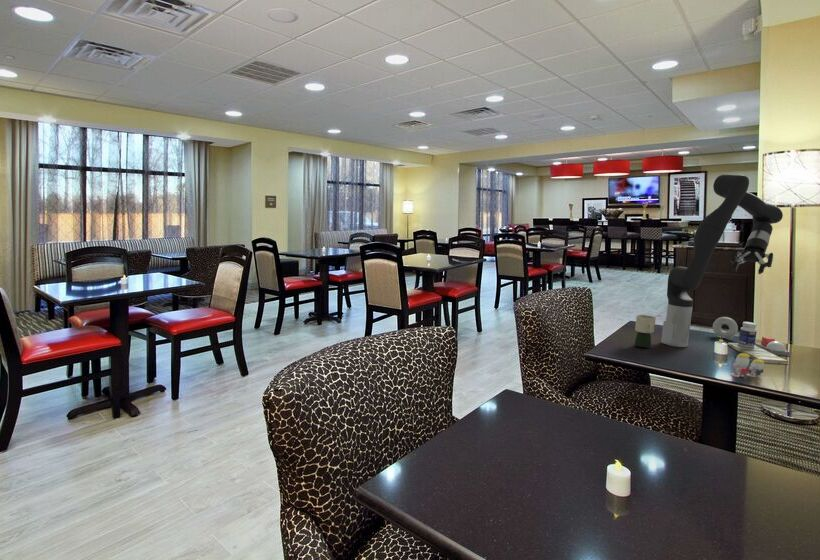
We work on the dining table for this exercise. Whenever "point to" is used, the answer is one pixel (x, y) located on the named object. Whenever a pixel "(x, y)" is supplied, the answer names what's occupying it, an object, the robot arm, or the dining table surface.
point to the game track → (758, 353)
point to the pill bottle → (747, 334)
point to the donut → (728, 321)
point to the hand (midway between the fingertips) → (747, 271)
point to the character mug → (644, 330)
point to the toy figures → (743, 362)
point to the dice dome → (772, 346)
